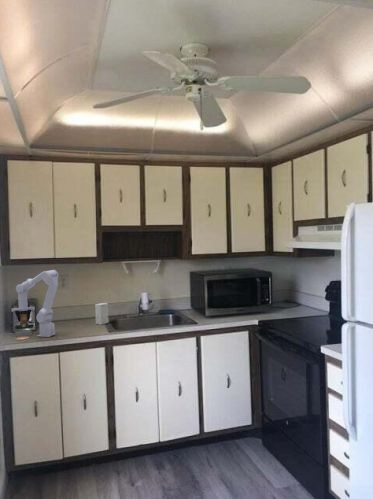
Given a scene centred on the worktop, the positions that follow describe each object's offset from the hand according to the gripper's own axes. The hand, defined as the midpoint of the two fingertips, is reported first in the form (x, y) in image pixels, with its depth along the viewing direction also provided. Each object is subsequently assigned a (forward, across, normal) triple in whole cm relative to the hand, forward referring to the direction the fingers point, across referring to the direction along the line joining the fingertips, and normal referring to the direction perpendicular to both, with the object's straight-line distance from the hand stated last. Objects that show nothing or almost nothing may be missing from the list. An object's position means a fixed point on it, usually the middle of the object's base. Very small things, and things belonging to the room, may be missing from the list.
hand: (23, 321), depth 278 cm
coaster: (+8, 0, +14) cm, 16 cm away
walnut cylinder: (+2, 0, 0) cm, 2 cm away
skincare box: (+9, -54, -9) cm, 55 cm away
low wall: (+8, 0, +7) cm, 11 cm away
